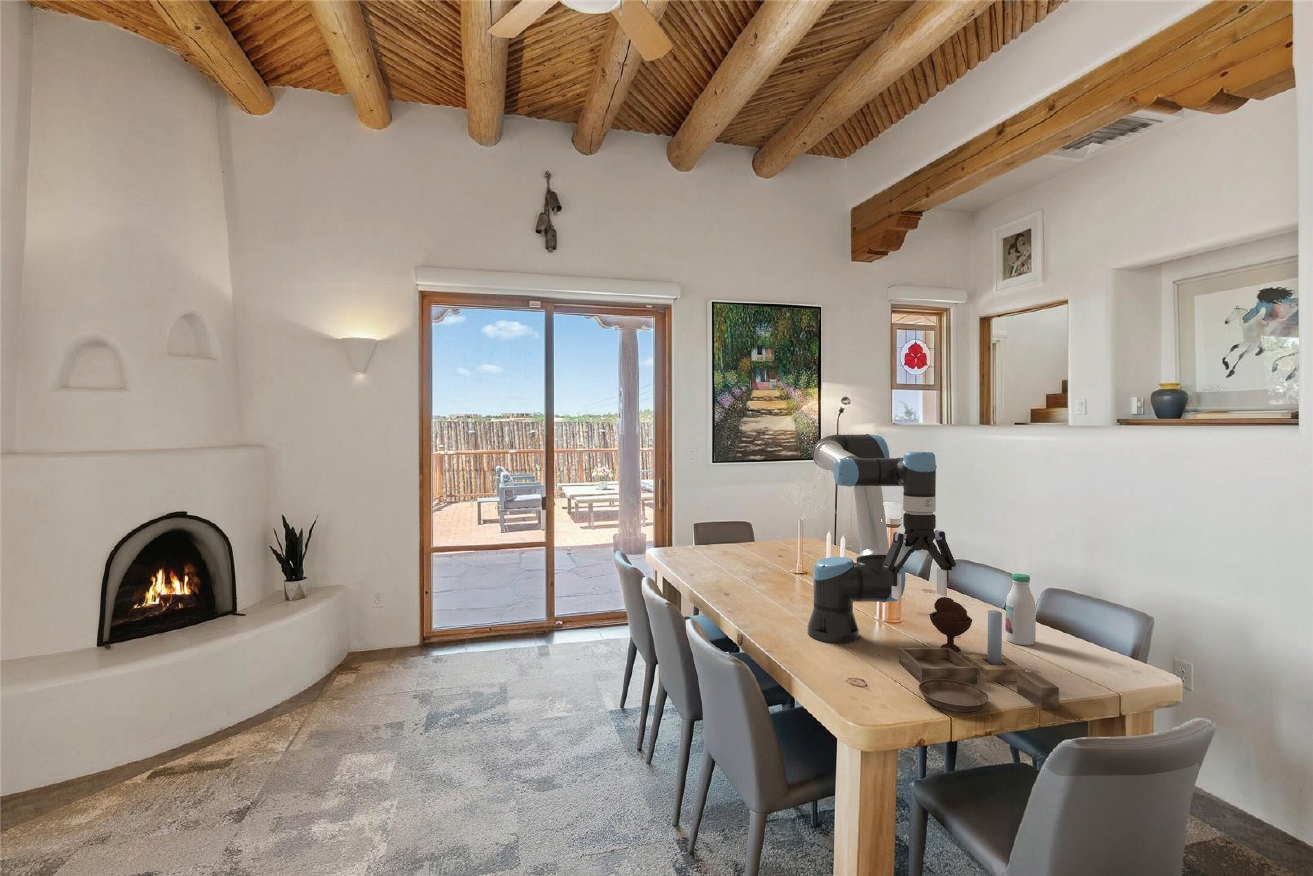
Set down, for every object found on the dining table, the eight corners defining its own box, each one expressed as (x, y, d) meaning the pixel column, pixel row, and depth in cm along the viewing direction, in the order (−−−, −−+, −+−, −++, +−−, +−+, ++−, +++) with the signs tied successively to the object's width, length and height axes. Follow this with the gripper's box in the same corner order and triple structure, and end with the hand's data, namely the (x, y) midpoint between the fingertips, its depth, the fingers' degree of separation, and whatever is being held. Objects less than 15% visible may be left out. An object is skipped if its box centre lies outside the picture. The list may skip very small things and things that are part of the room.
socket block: (985, 681, 155) (986, 669, 155) (965, 665, 165) (965, 654, 165) (1025, 681, 155) (1025, 669, 155) (1002, 665, 165) (1002, 654, 165)
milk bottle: (1038, 641, 184) (1038, 574, 183) (1032, 648, 178) (1032, 579, 178) (1009, 635, 189) (1009, 570, 189) (1002, 641, 183) (1002, 575, 183)
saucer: (918, 685, 153) (918, 674, 153) (985, 695, 148) (985, 683, 148) (918, 710, 140) (918, 698, 140) (992, 722, 134) (992, 710, 134)
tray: (921, 684, 153) (921, 668, 153) (898, 662, 167) (898, 648, 167) (977, 684, 153) (977, 668, 153) (949, 662, 167) (949, 647, 167)
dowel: (991, 675, 158) (992, 614, 158) (984, 670, 162) (985, 610, 161) (1003, 675, 158) (1004, 614, 158) (996, 670, 162) (997, 610, 161)
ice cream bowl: (955, 659, 170) (955, 605, 169) (921, 646, 180) (921, 595, 179) (980, 652, 174) (980, 600, 174) (945, 640, 184) (946, 590, 184)
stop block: (1041, 709, 140) (1041, 687, 139) (1017, 692, 149) (1017, 671, 148) (1058, 709, 140) (1058, 687, 140) (1033, 692, 149) (1033, 671, 149)
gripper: (886, 516, 148) (886, 604, 148) (971, 512, 155) (971, 597, 155) (867, 512, 155) (867, 596, 155) (949, 509, 162) (949, 590, 162)
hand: (919, 597), depth 155 cm, fingers open, 13 cm apart
